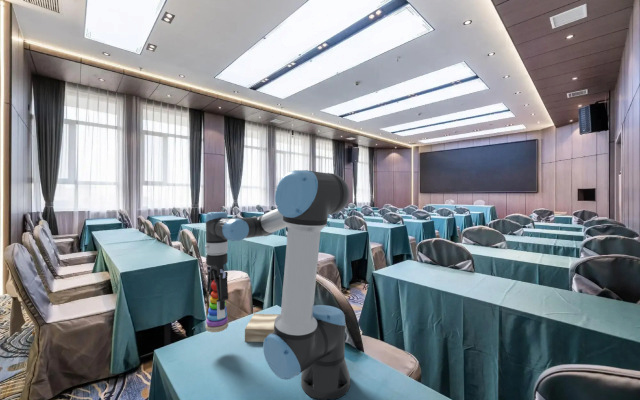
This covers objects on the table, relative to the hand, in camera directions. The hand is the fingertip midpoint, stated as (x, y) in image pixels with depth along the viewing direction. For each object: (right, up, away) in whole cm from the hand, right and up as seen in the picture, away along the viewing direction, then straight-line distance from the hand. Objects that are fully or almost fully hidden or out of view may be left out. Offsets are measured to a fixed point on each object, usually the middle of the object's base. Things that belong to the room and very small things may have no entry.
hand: (217, 314), depth 103 cm
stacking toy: (0, -5, 0) cm, 5 cm away
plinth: (+16, -13, +13) cm, 24 cm away
